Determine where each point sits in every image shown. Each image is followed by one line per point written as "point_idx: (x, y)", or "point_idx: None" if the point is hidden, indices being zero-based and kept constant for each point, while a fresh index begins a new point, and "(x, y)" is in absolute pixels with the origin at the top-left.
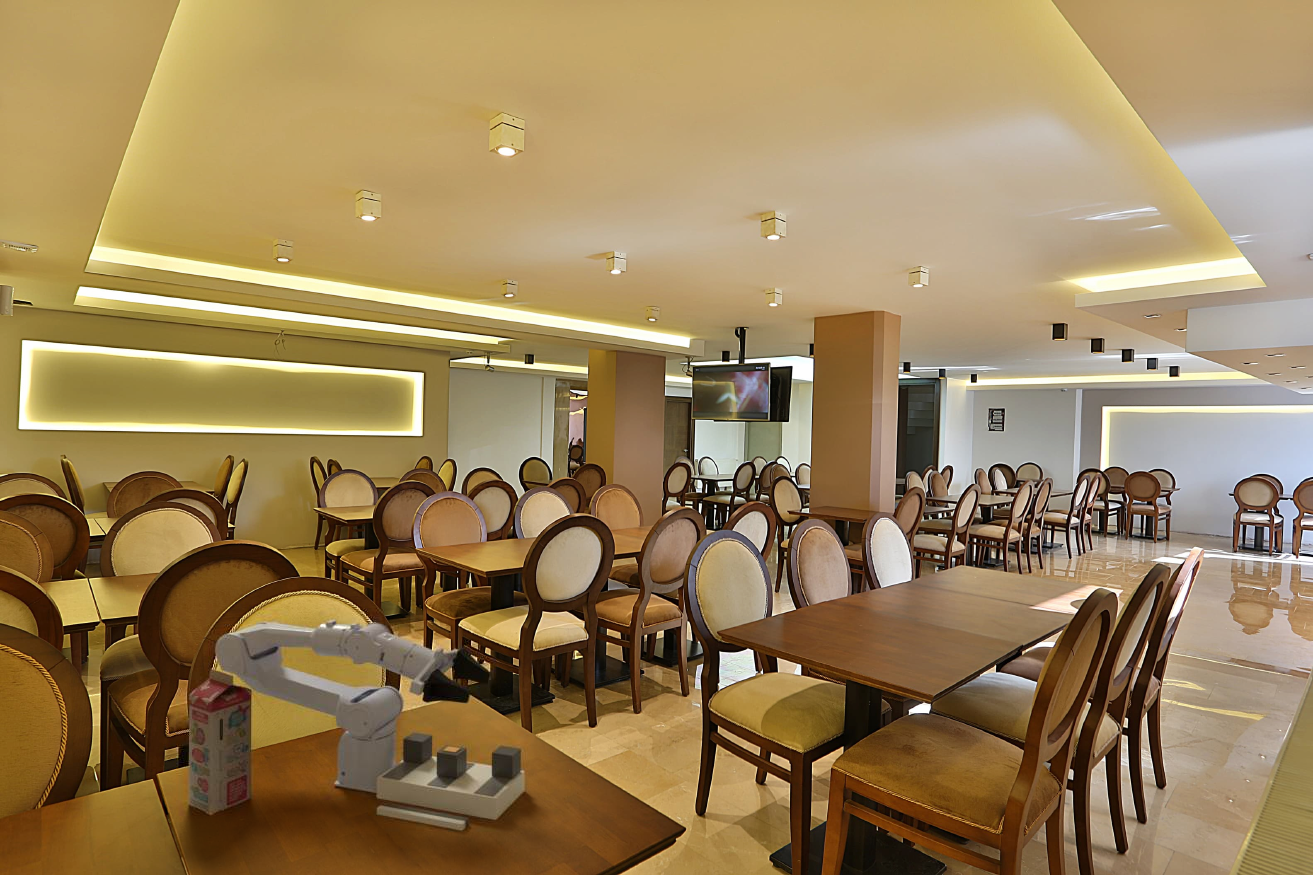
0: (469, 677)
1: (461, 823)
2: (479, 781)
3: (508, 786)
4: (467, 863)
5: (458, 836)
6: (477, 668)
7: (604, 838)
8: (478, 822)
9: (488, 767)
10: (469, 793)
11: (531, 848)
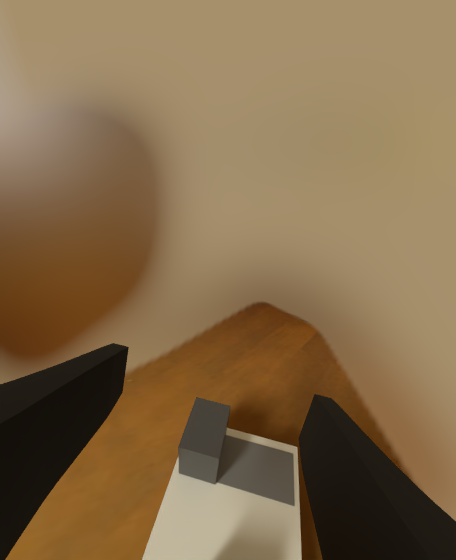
0: (36, 498)
1: None
2: (242, 511)
3: (251, 434)
4: (408, 477)
5: None
6: (76, 391)
7: (285, 336)
8: (306, 500)
9: (170, 511)
10: (299, 518)
11: (331, 396)
